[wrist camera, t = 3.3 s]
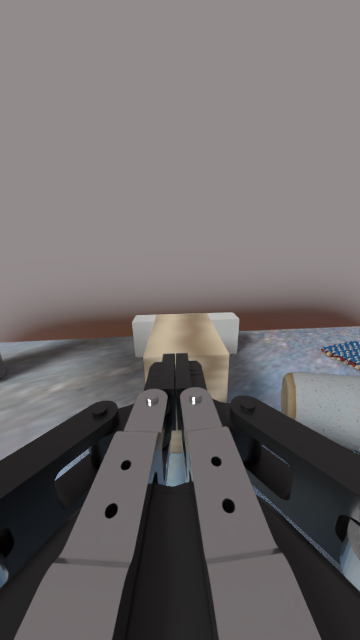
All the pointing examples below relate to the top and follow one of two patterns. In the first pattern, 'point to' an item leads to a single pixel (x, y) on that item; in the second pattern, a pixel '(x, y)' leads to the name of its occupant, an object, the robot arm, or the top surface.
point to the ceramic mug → (324, 405)
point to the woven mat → (345, 353)
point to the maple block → (190, 354)
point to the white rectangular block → (222, 321)
